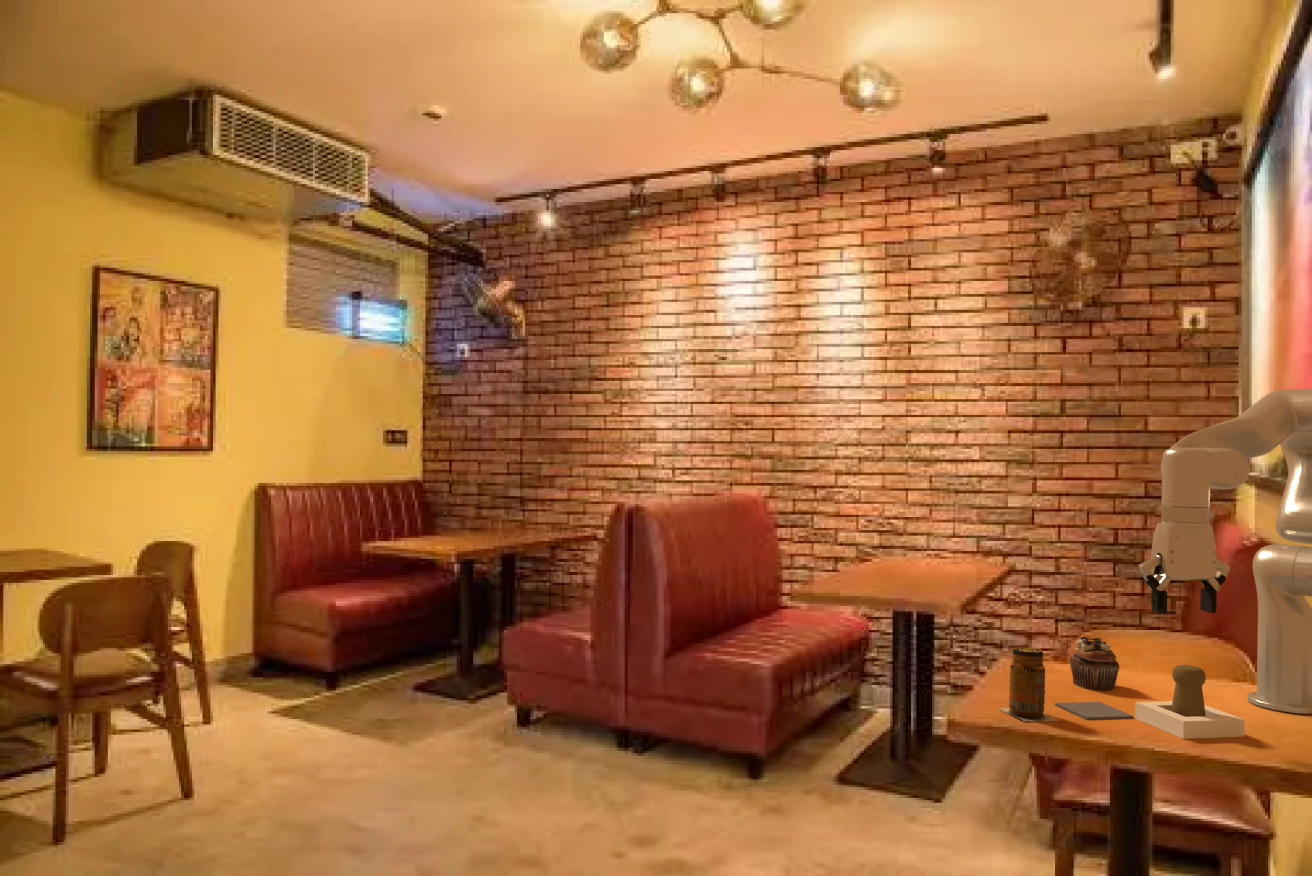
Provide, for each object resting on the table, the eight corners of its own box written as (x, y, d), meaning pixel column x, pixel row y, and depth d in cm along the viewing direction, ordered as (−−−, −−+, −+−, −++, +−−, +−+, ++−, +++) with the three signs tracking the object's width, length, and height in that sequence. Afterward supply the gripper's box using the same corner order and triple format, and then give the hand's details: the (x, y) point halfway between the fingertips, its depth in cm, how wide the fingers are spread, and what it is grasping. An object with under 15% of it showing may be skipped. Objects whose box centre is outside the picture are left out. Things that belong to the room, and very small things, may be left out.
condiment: (1032, 708, 175) (1034, 645, 175) (1060, 721, 167) (1061, 655, 167) (997, 709, 174) (999, 645, 174) (1023, 722, 165) (1025, 655, 165)
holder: (1192, 716, 172) (1192, 700, 172) (1244, 736, 160) (1244, 719, 160) (1135, 718, 169) (1135, 702, 170) (1183, 738, 158) (1183, 721, 158)
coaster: (1099, 703, 179) (1099, 701, 179) (1133, 718, 170) (1133, 715, 170) (1054, 704, 177) (1054, 702, 177) (1086, 719, 168) (1086, 717, 168)
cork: (1213, 733, 161) (1214, 670, 161) (1175, 730, 162) (1176, 668, 162) (1200, 723, 167) (1201, 663, 167) (1163, 721, 168) (1164, 660, 168)
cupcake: (1128, 692, 189) (1129, 643, 189) (1080, 690, 189) (1081, 642, 189) (1106, 680, 198) (1107, 634, 198) (1061, 679, 198) (1061, 632, 199)
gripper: (1213, 515, 170) (1211, 608, 170) (1127, 514, 168) (1126, 608, 168) (1244, 518, 163) (1243, 615, 163) (1155, 517, 161) (1154, 615, 160)
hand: (1183, 611), depth 165 cm, fingers open, 9 cm apart
